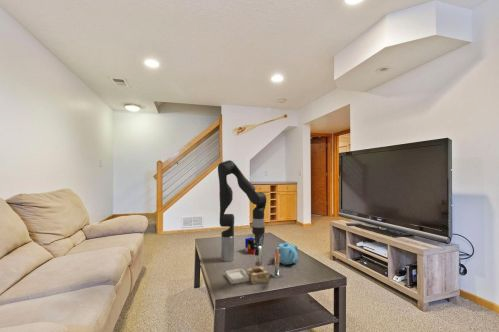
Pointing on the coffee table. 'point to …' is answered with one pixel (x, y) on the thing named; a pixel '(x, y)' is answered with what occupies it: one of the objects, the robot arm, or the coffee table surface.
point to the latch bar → (277, 256)
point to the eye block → (258, 275)
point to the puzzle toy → (250, 245)
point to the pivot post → (277, 272)
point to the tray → (237, 276)
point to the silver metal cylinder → (259, 257)
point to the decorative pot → (287, 253)
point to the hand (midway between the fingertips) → (258, 253)
